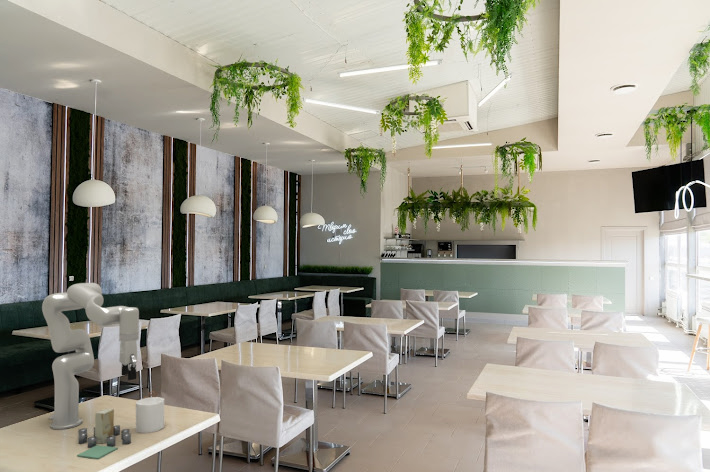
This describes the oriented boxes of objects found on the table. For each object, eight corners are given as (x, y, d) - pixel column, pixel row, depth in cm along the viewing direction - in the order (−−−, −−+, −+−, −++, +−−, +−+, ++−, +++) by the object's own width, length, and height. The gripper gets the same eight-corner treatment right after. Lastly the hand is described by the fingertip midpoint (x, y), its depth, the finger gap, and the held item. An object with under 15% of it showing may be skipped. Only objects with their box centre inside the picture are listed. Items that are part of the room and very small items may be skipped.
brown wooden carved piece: (161, 414, 237) (161, 389, 237) (162, 416, 234) (163, 391, 234) (141, 417, 232) (141, 391, 233) (142, 419, 229) (143, 393, 229)
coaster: (76, 456, 188) (76, 455, 188) (97, 446, 198) (97, 445, 198) (98, 459, 185) (98, 457, 185) (117, 449, 195) (117, 447, 195)
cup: (143, 423, 224) (143, 397, 224) (168, 423, 224) (168, 397, 224) (130, 433, 212) (130, 405, 213) (157, 433, 212) (157, 405, 212)
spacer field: (63, 444, 200) (63, 436, 200) (94, 430, 215) (94, 422, 215) (115, 451, 193) (115, 442, 193) (143, 436, 208) (143, 427, 208)
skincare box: (103, 443, 200) (103, 413, 201) (94, 443, 201) (94, 413, 202) (114, 438, 207) (114, 408, 207) (105, 437, 208) (105, 408, 208)
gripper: (114, 335, 213) (114, 374, 212) (125, 340, 199) (124, 382, 199) (132, 333, 218) (132, 372, 217) (144, 338, 204) (144, 379, 204)
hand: (128, 377), depth 208 cm, fingers open, 9 cm apart
